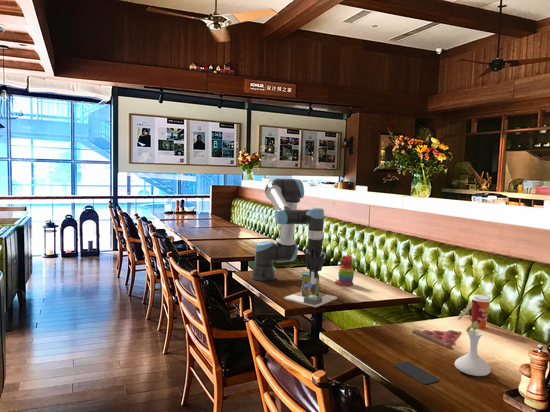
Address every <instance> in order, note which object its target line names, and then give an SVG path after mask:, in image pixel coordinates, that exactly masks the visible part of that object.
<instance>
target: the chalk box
mask: <svg viewBox="0 0 550 412" xmlns="http://www.w3.org/2000/svg"><path fill="white" fill-rule="evenodd" d="M308 270H309V269H308ZM301 291H302V296H309V295H316V296H319V293H320V274H319V273H318V277H317V278H316V284H311V277H310V270H309V271H302V272H301Z"/></svg>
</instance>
